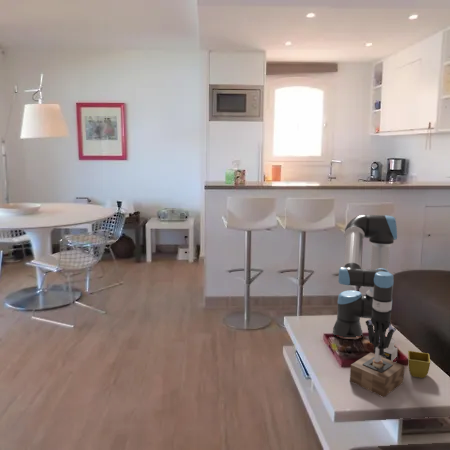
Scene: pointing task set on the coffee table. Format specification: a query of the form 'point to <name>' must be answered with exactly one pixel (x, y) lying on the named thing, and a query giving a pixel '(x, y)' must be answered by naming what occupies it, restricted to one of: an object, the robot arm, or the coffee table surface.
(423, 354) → the flower pot
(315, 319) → the coffee table surface
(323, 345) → the coffee table surface
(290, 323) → the coffee table surface
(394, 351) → the medicine bottle
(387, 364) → the socket block
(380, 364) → the peg
